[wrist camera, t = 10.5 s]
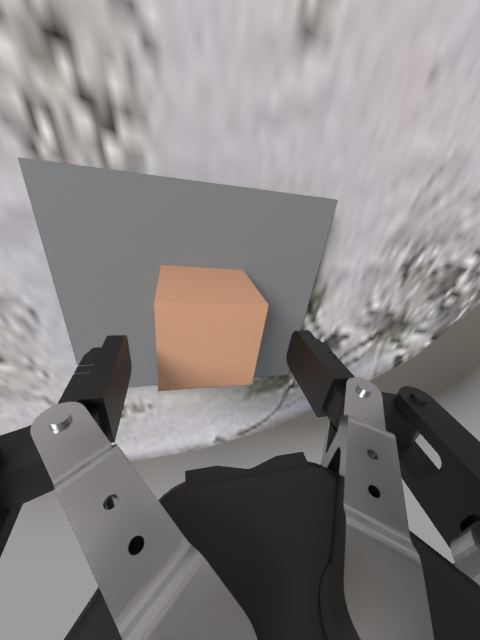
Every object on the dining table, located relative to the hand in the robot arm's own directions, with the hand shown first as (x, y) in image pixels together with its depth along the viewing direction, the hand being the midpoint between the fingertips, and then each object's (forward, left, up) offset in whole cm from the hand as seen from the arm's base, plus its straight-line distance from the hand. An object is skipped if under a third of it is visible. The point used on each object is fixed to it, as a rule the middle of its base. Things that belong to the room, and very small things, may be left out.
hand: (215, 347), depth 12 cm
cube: (0, 0, -5) cm, 5 cm away
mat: (0, 0, -6) cm, 6 cm away
